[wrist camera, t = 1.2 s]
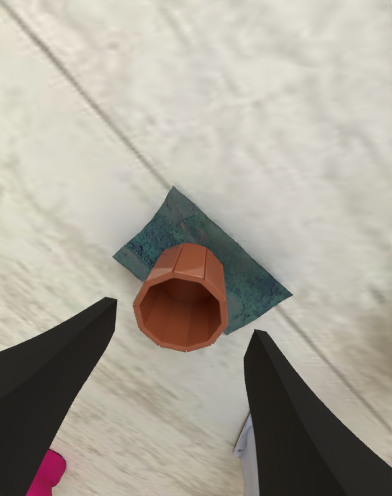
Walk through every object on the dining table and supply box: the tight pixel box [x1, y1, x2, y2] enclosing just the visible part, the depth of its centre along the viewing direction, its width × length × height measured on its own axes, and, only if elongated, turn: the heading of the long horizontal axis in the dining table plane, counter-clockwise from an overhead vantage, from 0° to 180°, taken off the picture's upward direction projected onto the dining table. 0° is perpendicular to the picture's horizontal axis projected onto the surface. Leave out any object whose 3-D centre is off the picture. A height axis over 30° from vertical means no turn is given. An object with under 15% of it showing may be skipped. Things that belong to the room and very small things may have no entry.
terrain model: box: [113, 186, 293, 335], centre depth 18 cm, size 13×8×2 cm, turn 49°
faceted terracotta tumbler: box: [133, 243, 228, 352], centre depth 15 cm, size 5×6×5 cm
